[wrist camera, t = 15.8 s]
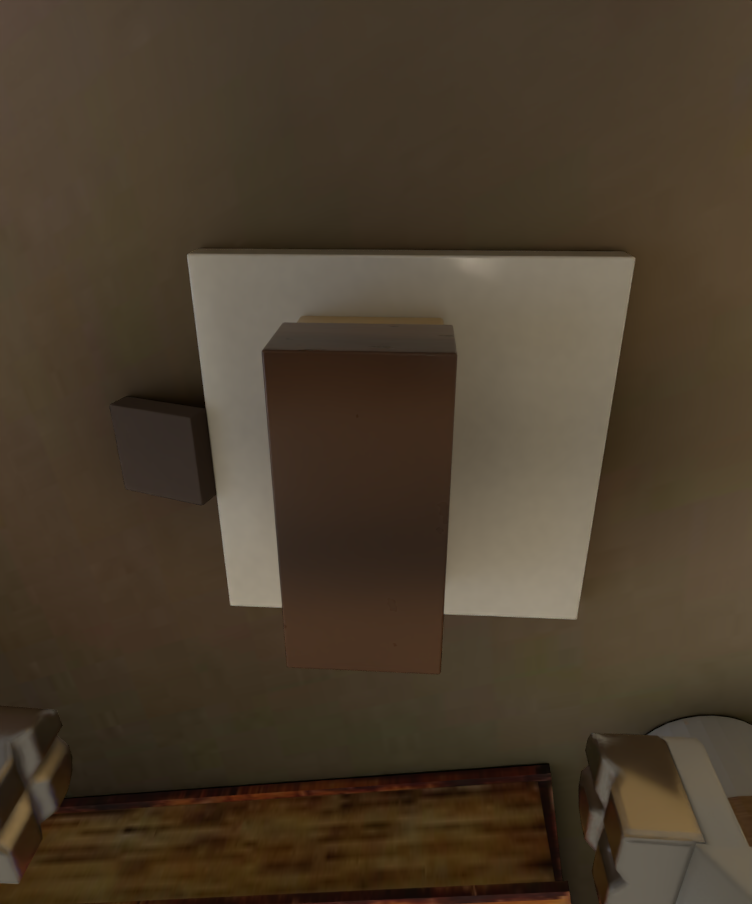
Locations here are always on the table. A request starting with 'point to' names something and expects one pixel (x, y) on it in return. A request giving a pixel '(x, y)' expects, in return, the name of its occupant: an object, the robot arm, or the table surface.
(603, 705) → the table surface
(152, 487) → the dark brown square block
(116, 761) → the table surface
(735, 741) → the coffee cup
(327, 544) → the brown rectangular block
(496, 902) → the book
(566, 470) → the tile
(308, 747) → the table surface
